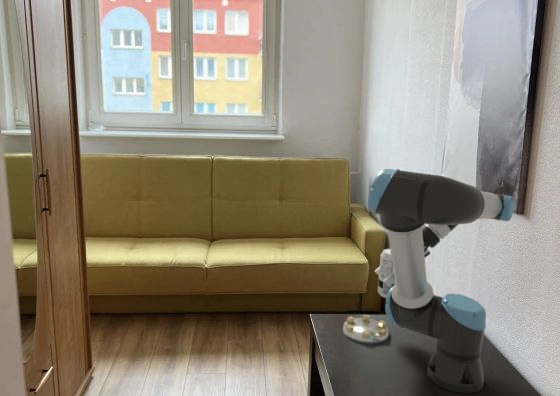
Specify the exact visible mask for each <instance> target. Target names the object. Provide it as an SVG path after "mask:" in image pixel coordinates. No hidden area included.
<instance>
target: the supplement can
mask: <svg viewBox="0 0 560 396" xmlns="http://www.w3.org/2000/svg"><path fill="white" fill-rule="evenodd" d="M379 259H380V260H379V266H380V269H379V275H378V280H377V281H378V282H377V293H378V294H379V296H381V297H382V298H384V299H386V298H387V295H388V292H389V290H390V289H391V288H392V287H393V286H394V285H395V282H394V283H393V284H392V285H391V286H390V287H388V286H387V285H386V283H385V282H384V281H383V280H385V279H386V278H387V277H388V276H389V275H390V274H391V273H392V272H393V271H394V270H393V263H392V256H391V249H390V248H385V249H383V250H382V252H381V253H380V258H379Z"/></svg>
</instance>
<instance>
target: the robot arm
mask: <svg viewBox="0 0 560 396" xmlns="http://www.w3.org/2000/svg"><path fill="white" fill-rule="evenodd" d="M515 202H516V201H515V198H514V197H513V196H511V195H505V194H504V193H503V194H500V193H494V192H489V191H483V190H482V191H481V190H480V189H478V188H477V187H476V186H475V185H474V186H473V185H470V184H467V183H464V182H462V181H459V180H457V179H453V178H452V177H451V178H450V177H446V176H443V175H438V174H437V175H436V174H430V173H424V172H423V173H420V172H414V171H407V170H400V168H397V169H394V168H393V169H392V168H383V169H381V170H380V171H379V172H378V173H377V174H376V175H375V177H374V179H373V181H372V184H371V185H370V190H369V192H368V197H367V206H368V210H369V212H371V213H373V215H377V214H378V215H379V220H380V224H381V226H382V227H383V228H384V229H385V230H387V234H388V241H389V249H391V256H392V263H393V270H394V271H393V272H392V273H391V274H390V275H389V276H388V277H387V278H386V279H385V280H383V281H384V282H385V283H386V285H387V286H388V287H390V286H391V285H392V284H393V283H394V282H395V285H394V286H393V287H392V288H391V289H390V290H389V292H388V295H387V298H385V299H386V300H385V314H386V318H387V319H388V321H389V322H390V323H391V324H394V325H396V326H398V327H399V328H402V329H407V330H409V331H412V332H416V333H419V334H422V335H424V336H428V337H431V338H434V339H437V342H436V347H435V350H434V352H433V354H432V355H431V357H430V359H429V361H428V363H427V369H426V374H427V376H428V378H429V379H430V381H432V382H433V383H434V384H436V386H438V387H440V388H442V389H445V390H447V391H450V392H454V393H458V394H473V393H476V392H479V391H481V389H483V387H484V381H485V375H484V371H483V366H482V361H481V354H482V353H481V352H482V349H483V348H482V347H483V341H484V334H485V330H486V327H487V325H486V321H487V312H486V310H485V308H484V306H483V305H482V304H481V303H480V302H478V301H477V300H475V299H473V298H471V297H469V296H466V295H464V294H460V293H457V294H455V293H446V294H445V295H444V296H439V295H435V294H434V288H433V286H432V285H431V284H430V282H428V280H427V269H426V257H428V256H429V255H430V254H431V252H430V250H429V248H431V249H432V248H435V247H436V246H437V245H438V244H439V243H440V242H441V240H443V239H445V238H446V237H447V236H448V235H449V234H450V232H452V231H453V230H454V229H456V227H457V226H459V225H466V224H470V223H473V222H475V221H477V220H484V219H488V220H489V219H490V220H495V221H503V222H509V221H510V220H511V219H512V218H513V214H514V211H515ZM379 269H380V265H379V266H378V267H377V268H376V269H375V270H374V272H375V273H376V274H377V275H378V276H379Z"/></svg>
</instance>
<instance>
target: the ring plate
mask: <svg viewBox="0 0 560 396" xmlns="http://www.w3.org/2000/svg"><path fill="white" fill-rule="evenodd" d="M342 327H343V328H342V332H343V334H344V335H345V336H346V337H347V338H348V339H350V340H352V341H354V342H356V343H361V344H367V345H373V344H374V345H376V344H381V343H383V342H386V341H387V340H388V338H389V333H390V331H389V330H390V329H389V328H388V327H387V323H386V321H384V320H383V319H382V320H381V319H380V320H376V319H372V318H371V314H370V315H369V314H362V317H354V316H351V315H350V316H348V317H347V318H346V321H344V323H343V326H342Z"/></svg>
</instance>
